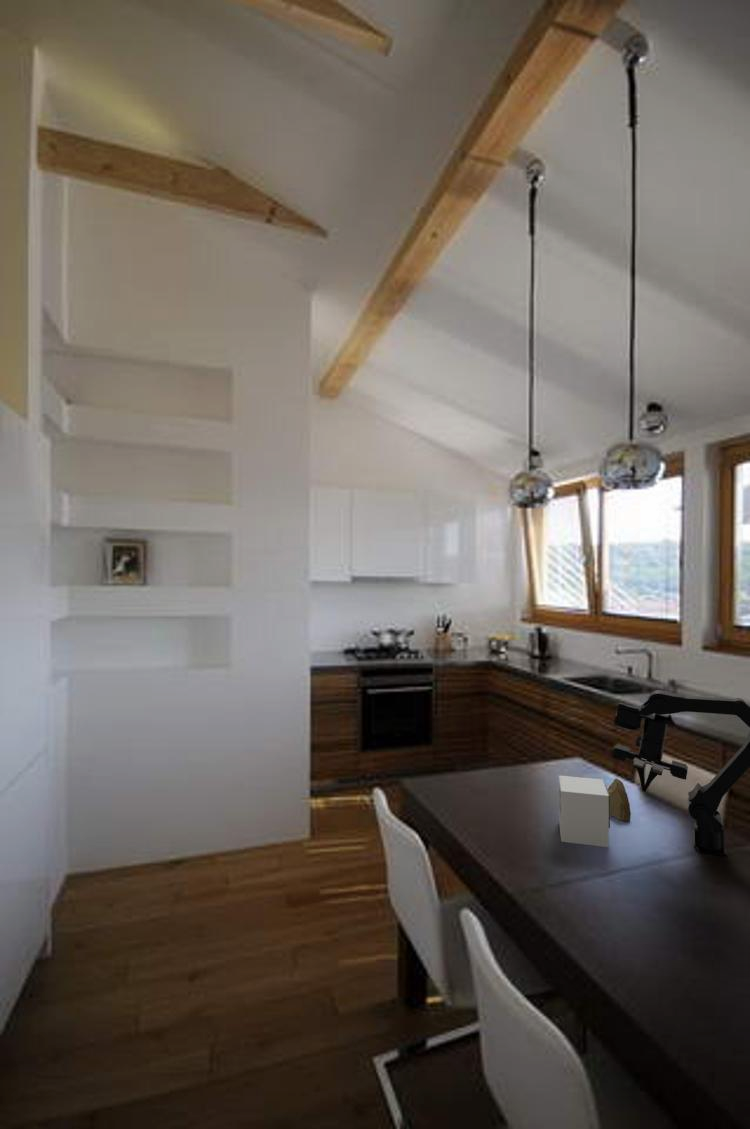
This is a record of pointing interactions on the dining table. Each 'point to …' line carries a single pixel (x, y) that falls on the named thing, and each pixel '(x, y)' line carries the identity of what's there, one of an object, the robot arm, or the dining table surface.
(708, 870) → the dining table surface
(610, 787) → the rock
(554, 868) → the dining table surface
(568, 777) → the off-white upright box
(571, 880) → the dining table surface
